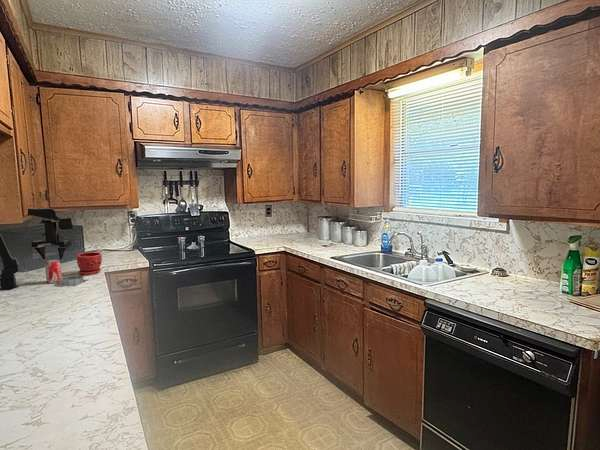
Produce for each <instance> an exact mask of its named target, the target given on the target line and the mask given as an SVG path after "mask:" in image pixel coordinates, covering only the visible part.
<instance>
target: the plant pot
mask: <svg viewBox="0 0 600 450" xmlns="http://www.w3.org/2000/svg"><path fill="white" fill-rule="evenodd" d="M102 258H103V257H102V253H101V252H98V251H97V252H96V251H87V252H83V253H78V254H76V263H77V267H78V269H79V270H78V273H79V275H80V274H81V276H90V275H96V274H99V273H100V272H101V271H102V270H101V268H100V267H101V265H102V260H103V259H102Z"/></svg>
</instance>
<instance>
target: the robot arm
mask: <svg viewBox="0 0 600 450" xmlns="http://www.w3.org/2000/svg"><path fill="white" fill-rule="evenodd" d="M27 208H28V215H27V216H32V217H38V218H41V220H40V221H39V224H42V225H43V233H42V236H44V240H39V239H38V240H34V241H32V242H31V243H30V246H31V248H33V249H35V251H36V252H37V253H38V254H39V255H40V257H41V259H43V260H45V259H46V250H45V249H46V248H47V247H46V246H58V247H57V252H58V257H59V260H63V256H64V255H65V251H66V249H67V248H70V247H71V246H72V244H73V243H72V241H71V240H65V236H63V235H61V234H60V233H59V232H58V231H57V229H58V230H60V231H69V230H70V231H72V230H73V225H74V224H73V221H72V218H71V217H64V218H60V217H59V216H58V215H56V214H57V212H56V210H55V209H53V208H51V207H40V208H30V207H27ZM52 220H53V221H52ZM0 257H1V260H2V266H3V269H2V270H1V271H0V290H1V291H9V290H13V289H16V288H18V287H20V285H17V281H16V280H17V279H16V273H18V272H19V266H20V262H19V261H18V259H17V257H16V256H15V257H13V256H12V255H11V253H10V251H9V250H8V247H7V245H6V243H5V241H4V238H3V236H2V234H1V233H0Z"/></svg>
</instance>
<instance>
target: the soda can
mask: <svg viewBox="0 0 600 450" xmlns="http://www.w3.org/2000/svg"><path fill="white" fill-rule="evenodd" d="M45 277H46V278H45V279H46V283H49V284H59V283H60V278H63V274H62V264H61V262H60V259H52V260H51V259H50V260H47V261H46V263H45Z"/></svg>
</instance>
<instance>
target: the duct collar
mask: <svg viewBox="0 0 600 450" xmlns="http://www.w3.org/2000/svg"><path fill="white" fill-rule="evenodd" d="M87 281H89V279H84V275H82V274H81V275H80V274H76V275H66V276H62V278H60V282H58V283H56V284H55V287H77V286H79V285H81V284H83V283H85V282H87Z"/></svg>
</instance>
